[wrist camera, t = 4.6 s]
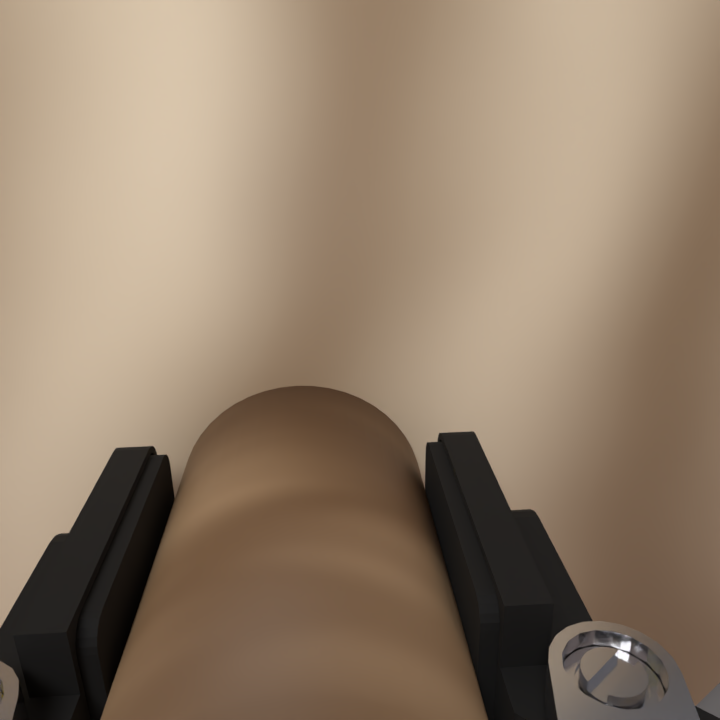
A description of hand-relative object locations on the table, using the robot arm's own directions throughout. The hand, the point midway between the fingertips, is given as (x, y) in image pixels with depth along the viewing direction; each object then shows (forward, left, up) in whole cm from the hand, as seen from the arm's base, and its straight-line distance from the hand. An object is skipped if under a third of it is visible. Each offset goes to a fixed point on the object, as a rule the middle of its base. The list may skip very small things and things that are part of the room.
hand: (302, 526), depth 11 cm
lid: (0, 0, -2) cm, 2 cm away
